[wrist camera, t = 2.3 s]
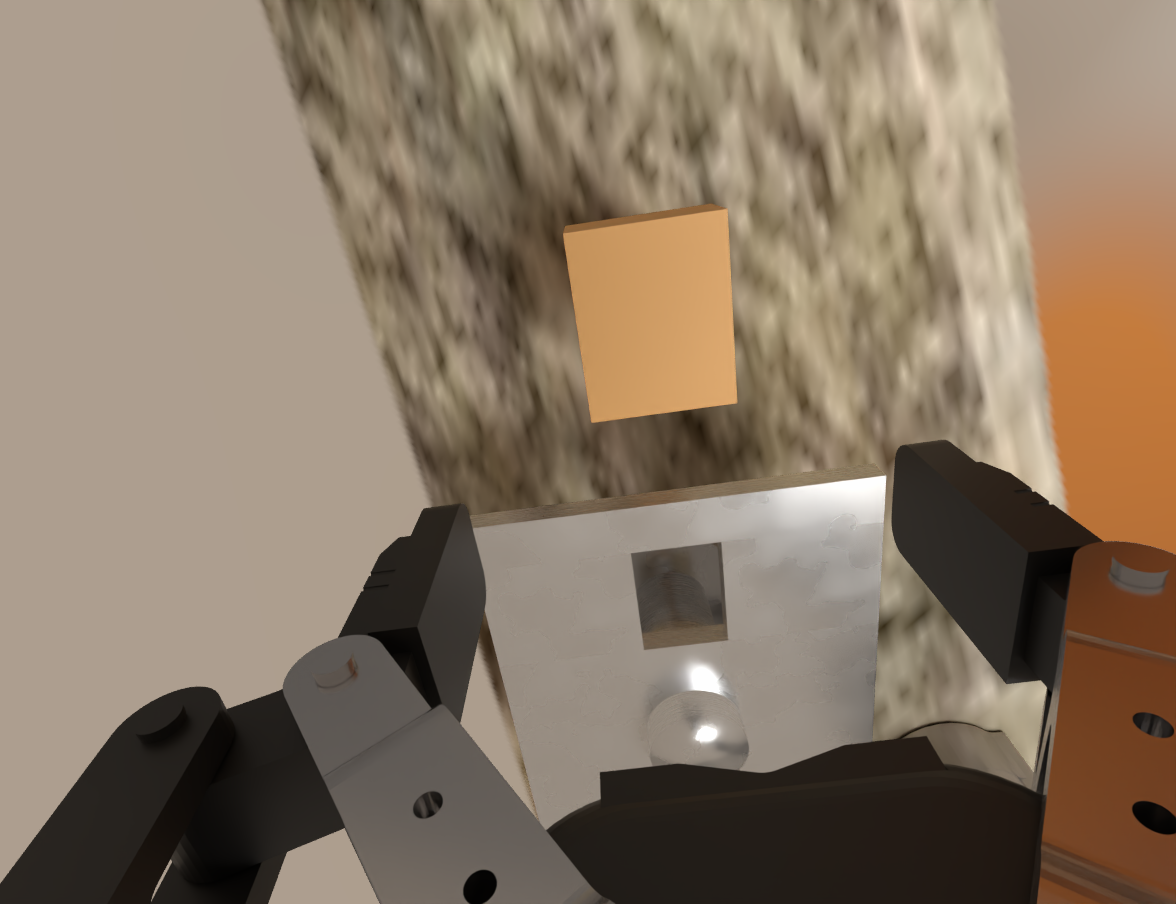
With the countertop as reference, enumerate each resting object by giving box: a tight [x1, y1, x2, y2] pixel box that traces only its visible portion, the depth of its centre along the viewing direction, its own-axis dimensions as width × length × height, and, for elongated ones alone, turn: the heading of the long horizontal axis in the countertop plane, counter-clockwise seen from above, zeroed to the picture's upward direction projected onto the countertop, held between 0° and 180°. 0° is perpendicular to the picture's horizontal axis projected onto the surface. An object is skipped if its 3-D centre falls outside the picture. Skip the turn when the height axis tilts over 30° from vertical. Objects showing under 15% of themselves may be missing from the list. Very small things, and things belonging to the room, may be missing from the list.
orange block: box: [563, 204, 737, 423], centre depth 29 cm, size 6×7×12 cm
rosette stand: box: [470, 463, 886, 830], centre depth 36 cm, size 18×20×13 cm
